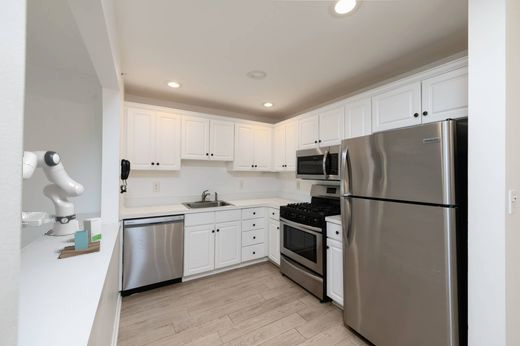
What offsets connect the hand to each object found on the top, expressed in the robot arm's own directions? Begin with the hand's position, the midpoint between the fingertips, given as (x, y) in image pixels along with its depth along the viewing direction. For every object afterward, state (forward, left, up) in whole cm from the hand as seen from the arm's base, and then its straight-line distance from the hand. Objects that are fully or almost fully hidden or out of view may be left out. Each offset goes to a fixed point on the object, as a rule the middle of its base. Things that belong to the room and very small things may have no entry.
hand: (55, 217), depth 131 cm
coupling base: (+1, +12, -22) cm, 25 cm away
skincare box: (-16, +17, -22) cm, 32 cm away
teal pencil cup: (+1, +12, -20) cm, 23 cm away
